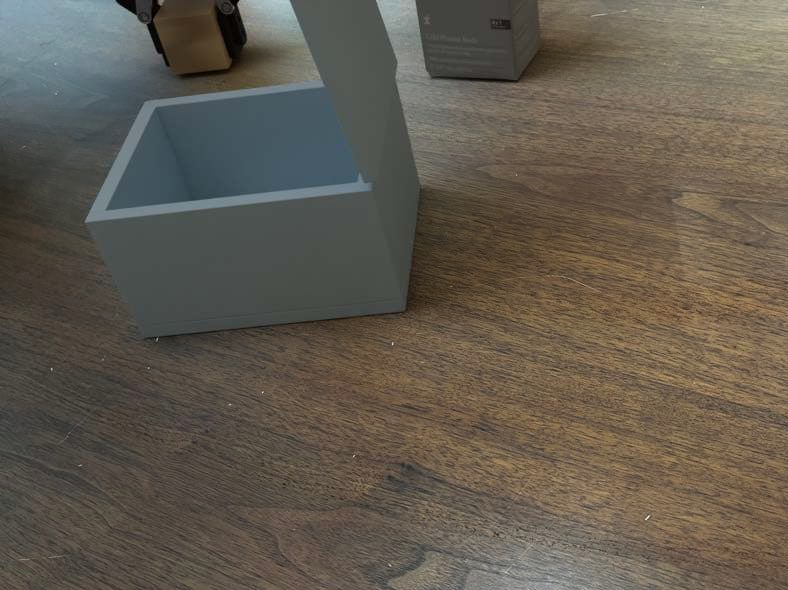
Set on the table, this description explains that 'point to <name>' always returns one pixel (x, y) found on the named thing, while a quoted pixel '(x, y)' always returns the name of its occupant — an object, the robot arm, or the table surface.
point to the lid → (353, 71)
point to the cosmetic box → (478, 37)
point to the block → (191, 36)
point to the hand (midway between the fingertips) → (205, 54)
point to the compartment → (255, 213)
